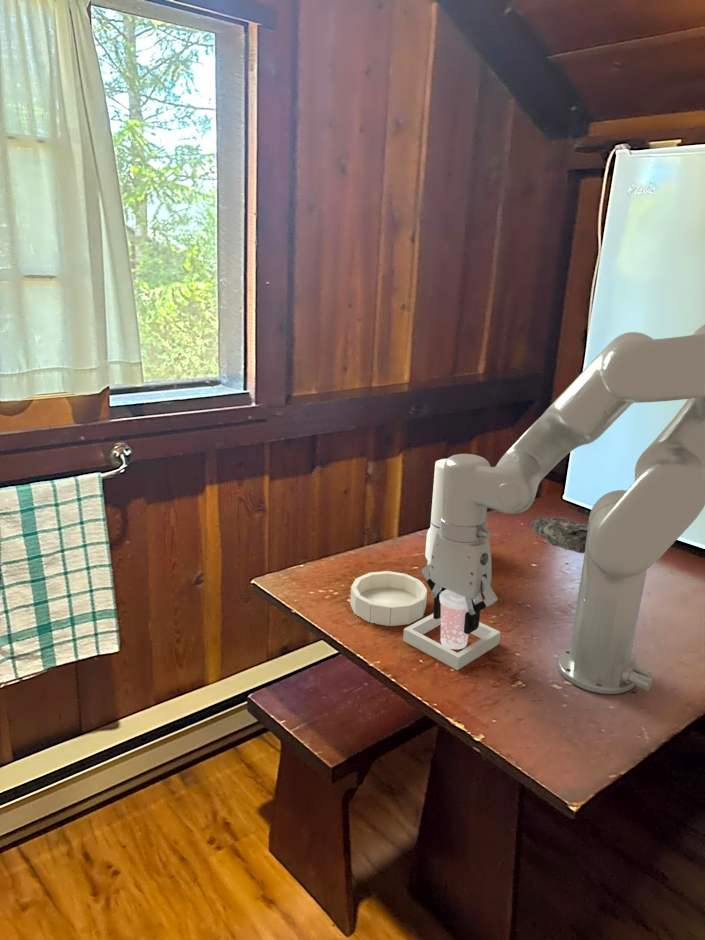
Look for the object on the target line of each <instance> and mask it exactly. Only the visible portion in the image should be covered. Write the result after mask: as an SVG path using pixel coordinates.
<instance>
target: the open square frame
mask: <svg viewBox="0 0 705 940" xmlns="http://www.w3.org/2000/svg"><path fill="white" fill-rule="evenodd" d="M433 614H434V612H433V613H431V614H430V615H427V616H425V617H424V618H423V617H422V618H421V619H419V620H417V621H415V622H414V623H413V624H412V623H411V624H409V625H407V627H405V628H403V636H402V637H403V638H402V641H403V642H405V643H407V644H409V645H410V646H412V647H413V648H416V649H417V650H419V651H421V652H423V653H425V654H427V655H428V656H430V657H433V659H436V660H438V661H439V662H442V663H443V664H445V665H446V666H449V667H450V668H453V670H456V671H459V670H460V669H462V668H464V667H465V666H467V665H469V664H470V663H471V662H473V661H475V660H476V659H478V658H479V657H481V656H482V655H484V654H486V653H487V652H489V651H490V650H492V649H493V648H496V647H497V646H498V645H499V644H500V643H501V642H500V641H501V640H500V639H501V634H502V633H501V631H499V630H497V629H495V628H493V627H491V626H489V625H487V624H484V623H482V622H481V621H479V626H478V628H477V629H476V630H474V631H473V632H471V633H470V635H473V636H475V637H477V638H479V639H478V640H477V641H475V642H474V643H471V644H470V645H468V646H466V647H464V648H462V650H460V651H458V652H457V651H454V649H449V648H447V647H445V646H443V645H442V644H441V643H439V642H437V641H436V640H434V639H431V638H430V637H428V636H426V635H424V634H426V633H428V632H430V631H432V630H433V629H436V628H438V627H439V626H441V618H439V619H434V618H433Z"/></svg>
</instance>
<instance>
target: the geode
mask: <svg viewBox="0 0 705 940" xmlns="http://www.w3.org/2000/svg"><path fill="white" fill-rule="evenodd" d="M529 527H530V529H531V530H532V531H533V532H534V533H535V534H536V535H539V536H540V537H541V538H545V539H546V540H548V542H549V543H550V544H551V546H553V547H558V548H561V549H564V550H566V551H567V550H568V551H573V552H575V553H578V554H585V546H586V539H587V530H588V524H585V523H583V524H582V523H581V524H580V523H579V524H577V523H576V522H574V521H571V520H568V519H567V518H559V517H557V516H547V517H546V516H544V517H537V519H535V520H532V521H531V522H530V524H529Z"/></svg>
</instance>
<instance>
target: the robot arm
mask: <svg viewBox="0 0 705 940" xmlns="http://www.w3.org/2000/svg"><path fill="white" fill-rule="evenodd" d="M679 400H680V401H681V400H682V401H683V400H686V401H685V402H684V404H683V406H681V408H680V409H679V411H678V412H677V413H676V415H675V416H674V417H673V419H671V421H670V422H669V423H668V424H667V425H666V427H664V429H663V430H662V431H661V433H660V434H658V436H657V437H656V438H655V439H654V440H653V441H652V442H651V443H650V444H649V446H648V447H647V448H646V449H645V450H644V451H643V452H642V453H641V455H640V456H639V457H638V459H637V461H636V463H635V467H634V481H633V483H632V484H630V486H629V487H628V489H627V490H626V489H625V490H624V489H620V490H619V489H617V490H612V491H609V492H607V493H605V494H604V495H602V496H601V497H599V498H598V500H596V502H595V503H594V504H593V506H592V508H591V510H590V513H589V516H588V522H587V523H588V524H587V525H588V530H587V539H586V546H585V553H583V555H584V557H583V561H582V562H583V563H582V569H581V576H580V582H579V587H578V593H577V594H578V595H577V601H576V606H575V614H574V621H573V627H572V633H571V640H570V646H569V647H568V648H566V649H565V650H563V651H562V652H561V653H560V655H559V657H558V662H557V667H558V670H559V672H560V673H561V675H562V676H563V677H564V678H565V679H566V680H568V681H569V682H570V683H572V684H573V685H574V686H577V687H579V688H581V689H583V690H586V691H589V692H593V693H597V694H604V695H616V694H623V693H625V692H628V691H630V690H632V689H633V688H634V687H635V686H636V687H637V688H641V689H643V690H644V691H647V692H648V691H650V689H651V688H652V685H653V683H654V681H653V679H652V678H651V677H652V671H650V670H648V669H645V667H644V668H643V667H641V666H639V664H638V663H637V657H638V654H636V653H634V652H632V650H633V647H634V643H635V642H634V641H635V636H636V635H635V634H636V630H637V626H638V625H637V624H638V620H639V619H638V618H639V613H640V609H641V608H640V607H641V602H642V598H643V595H644V594H643V593H644V589H645V583H646V577H647V571H648V569H649V568H651V567H652V566H653V565H654V564H655V563H656V562H657V561H658V560H659V559H660V558H661V557H662V556H664V554H665V553H666V552H668V549H670V547H672V545H673V544H674V543H675V542H676V541H677V540H678V539H679V538H680V537H681V536H682V535H683V534H684V532H685V531H686V530H687V529H688V528H689V527H690V526H691V525H692V524H693V523H694V521H696V519H697V518H698V517H699V515H700V514H701V513H702V511H703V509H704V507H705V324H703V325H701V326H700V327H699V328H698V329H696V330H695V332H694V333H693V334H690V335H684V336H675V337H665V338H652V337H651V336H649V335H648V334H645V333H642V332H637V331H631V332H630V331H629V332H625V333H622V334H620V335H618V336H617V337H615V338H614V339H613V340H611V341H610V342H609V343H608V344H607V345H606V346H605V347H604V348H603V349H602V351H601V352H600V353H599V354H597V356H596V357H594V359H593V360H592V361H591V362H590V363H589V364H588V366H586V367H585V368H584V369H583V371H582V372H581V373H580V374H579V375H578V376H577V377H576V378H575V379H574V380H573V382H571V384H570V385H568V387H567V388H565V390H564V391H563V392H561V394H560V395H559V396H558V397H557V398H556V399H555V400H554V401H553V403H552V404H550V406H549V407H548V408H547V409H546V410H545V411H544V412H543V414H542V415H541V416H540V417H538V419H536V421H534V422H533V424H531V426H530V427H528V429H527V430H526V431H525V432H524V433H523V434H522V435H521V436H520V437H519V438H518V439H517V440H516V441H515V442H514V443H513V444H512V445H511V447H509V449H508V450H507V451H506V452H505V453H504V454H503V455H502V457H501V458H500V459H499V461H498V462H497V464H496V465H495V466H491V464H490V463H489V461H488V460H487V459H486V458H485V457H483V456H480V455H477V454H472V453H471V454H470V453H458V454H453V455H451V456H449V457H448V458H446V459H447V460H446V462H445V464H444V473H443V488H442V503H441V518H440V529H439V530H438V531H437V534H436V537H435V541H434V545H433V550H432V556H431V563H430V564H429V565H428V564H427V565H426V566H425V567H423V568H422V569H421V574H422V576H423V577H424V579H425V580H426V583H427V585H428V587H429V589H430V591H431V593H430V595H431V597H432V598H433V607H432V608H433V609H432V610H433V613H434V614H433V613H432V614H433V618H434V619H439V618H441V603H440V600H439V599H440V597H439V595H440V593H441V592H442V591H444V590H447V589H448V590H450V591H452V592H454V593H457V594H459V595H461V596H464V597H465V599H466V603H467V607H468V612H466V614H465V623H464V633H465V634H468V635H469V634H471V632H473V631H474V630H476V629H477V628H478V626H479V622H480V619H481V618H480V617H481V616H480V615H481V611H483V610H485V609H486V608H488V607H489V606H491V605H493V604H495V603H496V602H498V600H499V599H498V597H497V595H496V593H495V592H494V590H493V588H492V586H491V585H492V552H491V551H492V550H491V545H490V540H489V539H490V538H491V536H492V533H491V531H490V530H488V529H487V514H488V509H491V510H493V511H496V512H501V513H502V514H503V513H504V514H511V515H512V514H513V515H516V514H520V513H523V512H525V511H527V510H528V509H529V508H530V507H531V506H533V503H534V502H535V498H536V495H537V492H538V488H539V485H540V483H541V482H542V481H543V479H544V478H546V476H547V475H548V474H549V473H550V472H551V471H552V470H553V469H554V468H555V467H556V466H557V465H558V464H559V463H560V462H561V461H562V460H563V459H564V458H566V456H568V455H569V453H571V452H572V451H574V450H575V449H577V448H579V447H581V446H584V445H589V444H591V443H593V442H595V441H597V439H599V438H600V437H601V436H602V435H603V434H604V433H605V432H606V431H607V430H608V429H609V428H610V427H611V426H612V425H613V423H615V421H617V419H618V418H619V417H621V415H622V414H624V413H625V412H626V411H627V409H629V407H630V406H631V405H633V404H634V403H657V402H670V401H679ZM482 594H483V596H484V599H483V598H482ZM473 599H475V603H474V600H473Z"/></svg>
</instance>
